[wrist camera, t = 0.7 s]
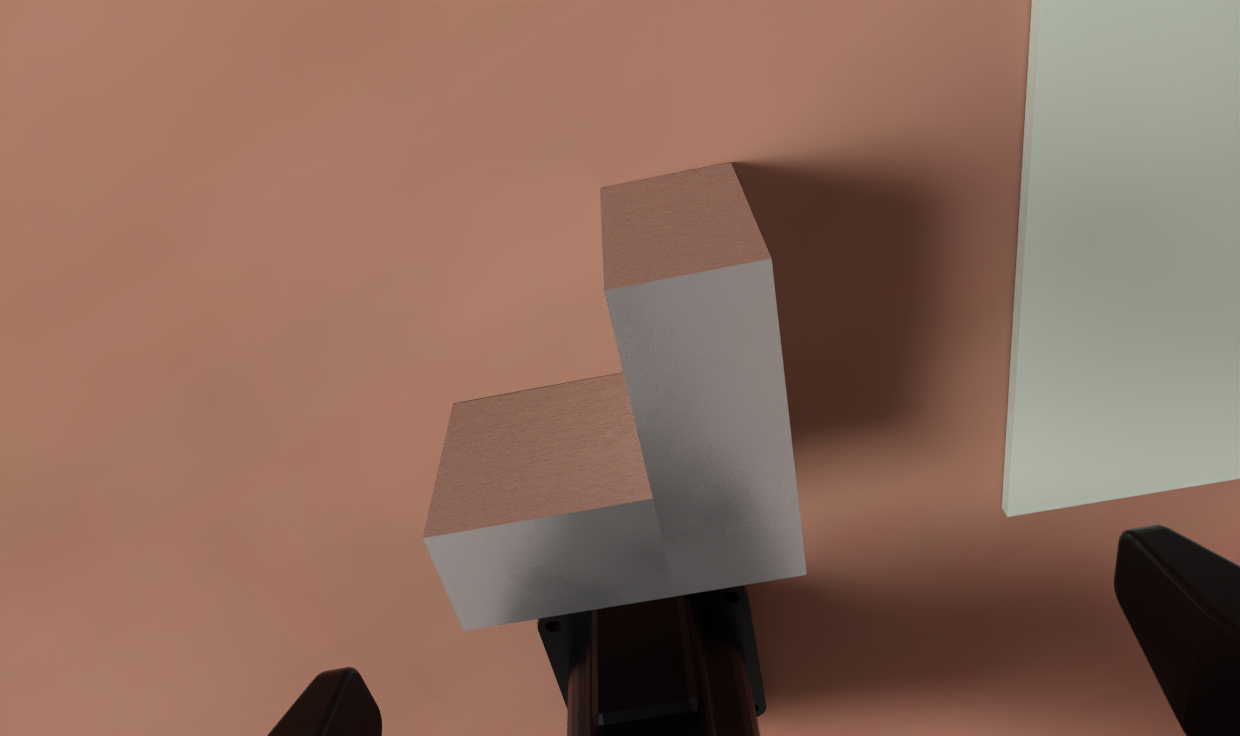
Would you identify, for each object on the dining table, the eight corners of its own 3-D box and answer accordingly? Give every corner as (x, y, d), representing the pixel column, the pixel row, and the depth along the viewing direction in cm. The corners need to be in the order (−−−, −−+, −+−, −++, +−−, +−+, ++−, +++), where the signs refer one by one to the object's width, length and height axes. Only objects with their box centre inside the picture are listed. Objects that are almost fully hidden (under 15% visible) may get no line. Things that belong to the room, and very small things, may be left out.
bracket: (767, 439, 24) (806, 574, 19) (484, 489, 24) (463, 631, 20) (730, 162, 19) (771, 258, 15) (388, 231, 20) (336, 342, 16)
